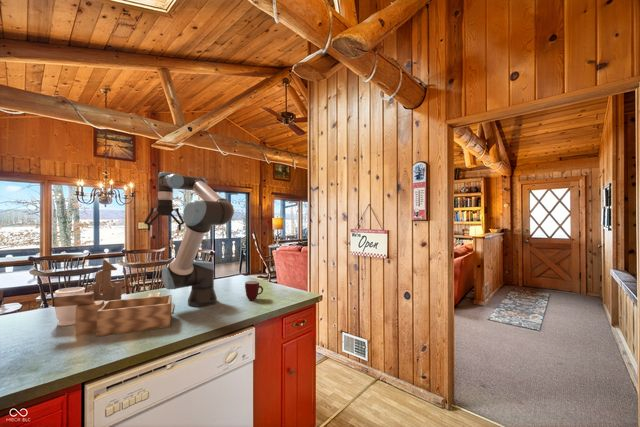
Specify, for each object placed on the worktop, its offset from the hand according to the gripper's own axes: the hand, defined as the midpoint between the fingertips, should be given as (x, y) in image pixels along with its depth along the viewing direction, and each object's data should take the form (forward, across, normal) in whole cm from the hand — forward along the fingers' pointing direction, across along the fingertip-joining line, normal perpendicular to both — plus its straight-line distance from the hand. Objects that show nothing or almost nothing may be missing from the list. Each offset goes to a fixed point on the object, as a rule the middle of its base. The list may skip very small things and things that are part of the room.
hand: (164, 236), depth 167 cm
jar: (+37, +36, +22) cm, 56 cm away
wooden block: (+25, +30, +37) cm, 54 cm away
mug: (+37, -48, +16) cm, 63 cm away
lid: (+37, +8, +18) cm, 42 cm away
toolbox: (+37, +12, +37) cm, 53 cm away
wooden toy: (+37, +28, 0) cm, 46 cm away
